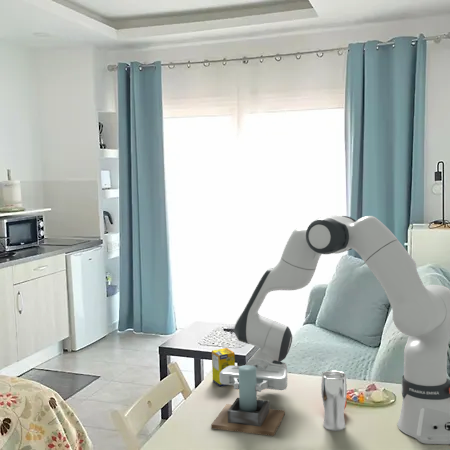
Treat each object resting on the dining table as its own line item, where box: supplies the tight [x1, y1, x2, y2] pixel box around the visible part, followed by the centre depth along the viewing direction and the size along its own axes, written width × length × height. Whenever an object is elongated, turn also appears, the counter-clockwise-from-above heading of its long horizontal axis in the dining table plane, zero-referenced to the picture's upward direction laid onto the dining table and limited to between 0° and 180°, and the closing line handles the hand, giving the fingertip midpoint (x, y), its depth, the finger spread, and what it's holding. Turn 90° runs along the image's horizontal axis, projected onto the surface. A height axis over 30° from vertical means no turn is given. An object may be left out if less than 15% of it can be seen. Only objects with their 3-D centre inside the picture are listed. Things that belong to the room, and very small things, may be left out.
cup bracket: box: [210, 397, 286, 437], centre depth 167 cm, size 18×14×5 cm
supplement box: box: [211, 347, 236, 387], centre depth 196 cm, size 6×6×11 cm
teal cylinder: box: [238, 364, 258, 412], centre depth 166 cm, size 5×5×12 cm
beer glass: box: [320, 369, 348, 432], centre depth 162 cm, size 7×7×15 cm
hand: (246, 387), depth 165 cm, fingers closed on teal cylinder, 5 cm apart
